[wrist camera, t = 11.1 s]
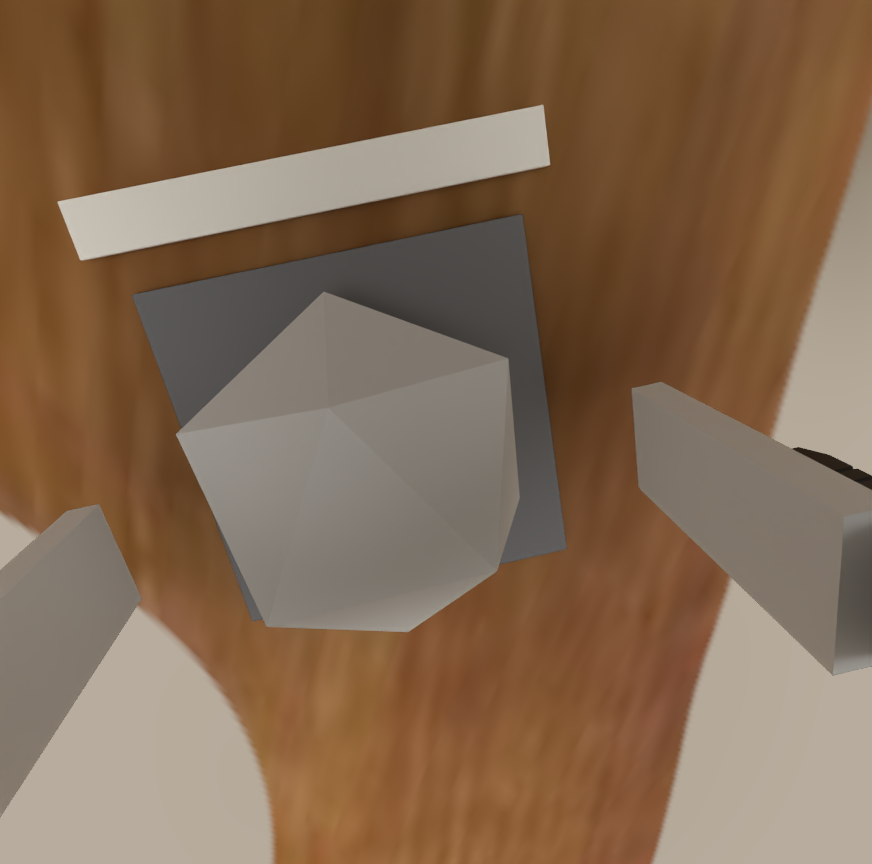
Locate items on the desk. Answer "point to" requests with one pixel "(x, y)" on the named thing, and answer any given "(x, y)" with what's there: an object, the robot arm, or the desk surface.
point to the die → (360, 469)
